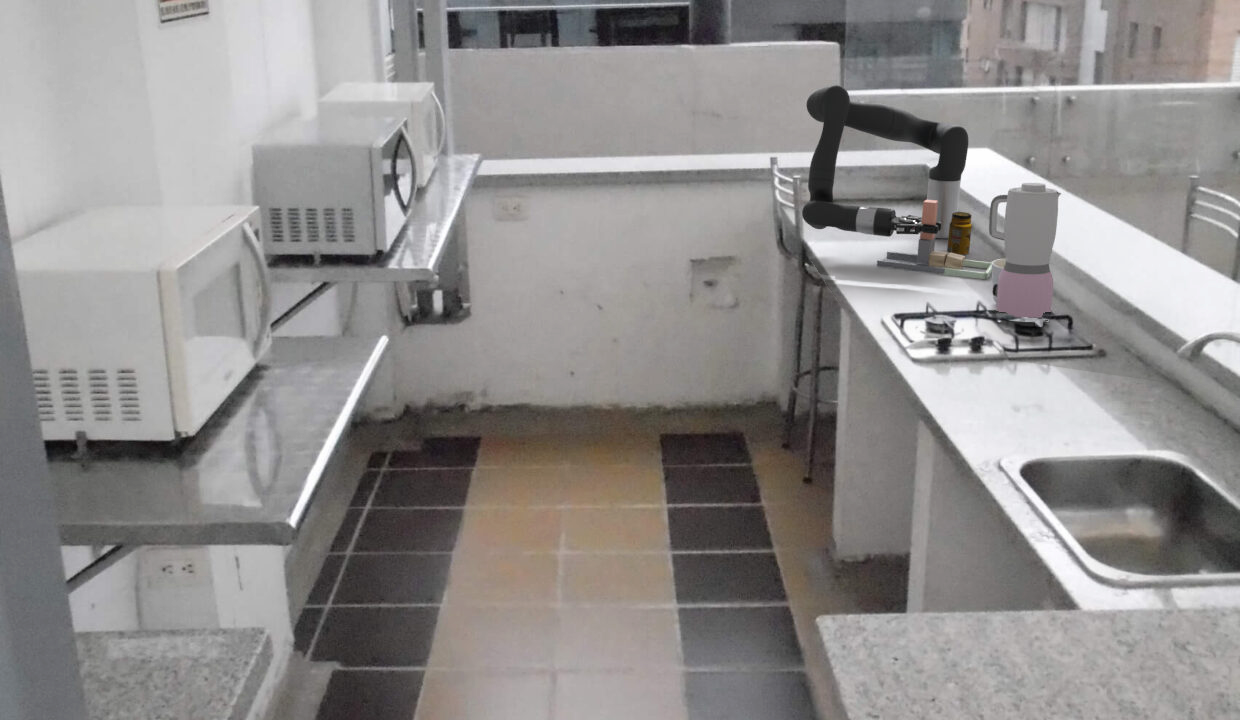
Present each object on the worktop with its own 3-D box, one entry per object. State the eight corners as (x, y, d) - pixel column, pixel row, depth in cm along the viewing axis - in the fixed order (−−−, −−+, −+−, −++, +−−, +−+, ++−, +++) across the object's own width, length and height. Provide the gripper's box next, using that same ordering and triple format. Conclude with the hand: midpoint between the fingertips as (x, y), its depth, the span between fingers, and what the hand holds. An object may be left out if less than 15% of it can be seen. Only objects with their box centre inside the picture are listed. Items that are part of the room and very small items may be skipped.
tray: (952, 267, 323) (953, 258, 322) (994, 271, 319) (995, 262, 318) (943, 277, 313) (944, 268, 312) (986, 282, 308) (987, 273, 308)
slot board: (887, 259, 331) (888, 250, 330) (952, 267, 323) (953, 258, 322) (876, 269, 320) (877, 260, 320) (943, 277, 313) (944, 268, 312)
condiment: (975, 256, 334) (979, 214, 330) (954, 260, 330) (959, 218, 326) (955, 250, 340) (959, 209, 336) (934, 255, 336) (938, 213, 332)
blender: (1057, 319, 277) (1070, 182, 269) (1041, 330, 268) (1054, 189, 259) (991, 311, 286) (1001, 178, 278) (973, 321, 277) (983, 184, 268)
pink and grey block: (921, 256, 323) (927, 198, 318) (933, 257, 322) (939, 199, 316) (916, 261, 318) (922, 202, 312) (928, 263, 316) (934, 204, 311)
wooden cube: (931, 265, 321) (932, 250, 320) (946, 266, 319) (947, 252, 318) (928, 268, 318) (929, 254, 316) (943, 270, 316) (944, 255, 315)
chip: (946, 266, 319) (950, 252, 318) (961, 270, 318) (965, 256, 316) (943, 269, 316) (947, 255, 315) (958, 273, 315) (962, 259, 313)
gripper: (869, 212, 315) (935, 219, 308) (883, 202, 327) (946, 209, 320) (867, 240, 318) (932, 247, 311) (881, 229, 330) (943, 236, 323)
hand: (939, 228), depth 316 cm, fingers closed on pink and grey block, 3 cm apart
